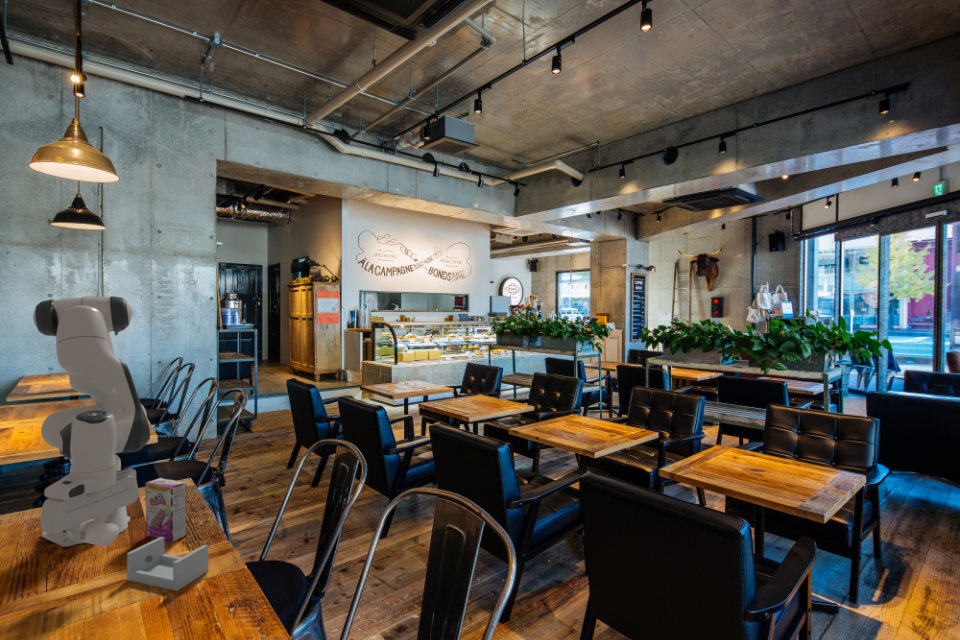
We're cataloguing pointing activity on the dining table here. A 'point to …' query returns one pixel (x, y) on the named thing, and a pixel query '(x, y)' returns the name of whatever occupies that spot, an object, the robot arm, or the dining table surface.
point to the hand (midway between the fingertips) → (93, 534)
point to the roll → (98, 532)
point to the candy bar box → (166, 509)
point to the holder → (165, 566)
